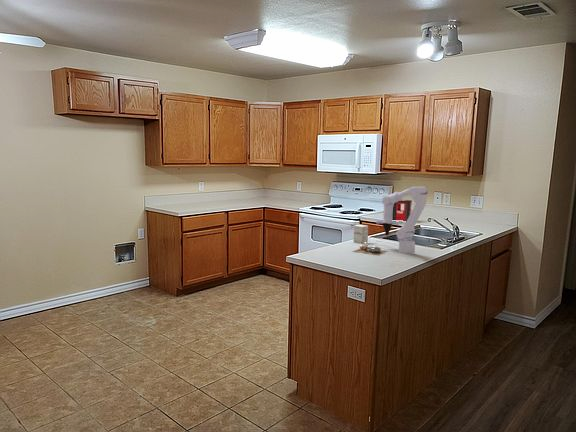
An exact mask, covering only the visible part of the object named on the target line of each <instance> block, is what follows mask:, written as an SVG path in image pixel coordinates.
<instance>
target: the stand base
mask: <svg viewBox="0 0 576 432" xmlns="http://www.w3.org/2000/svg"><path fill="white" fill-rule="evenodd" d="M363 249H364V248H363ZM358 250H361V249H360V248H358V249H357V248H356V249H355V250H353V251H352V253H357V254H364V255H371V256H379V257H380V256H381V255H383V254H386V253H387V252H388V250H382V249H381V250H380V253H371V252H369V249H367V250H366V251H365V250H361V251H358ZM388 253H389V252H388Z"/></svg>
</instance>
